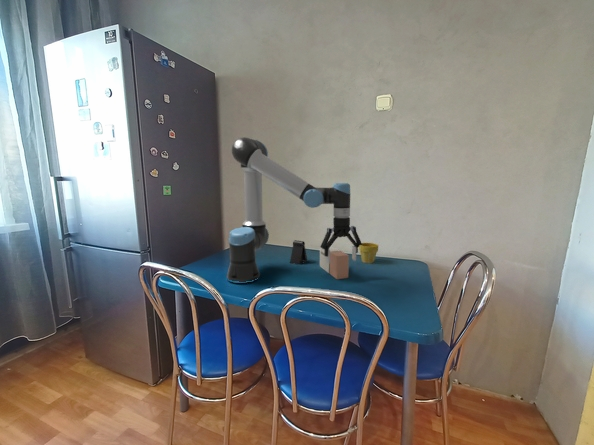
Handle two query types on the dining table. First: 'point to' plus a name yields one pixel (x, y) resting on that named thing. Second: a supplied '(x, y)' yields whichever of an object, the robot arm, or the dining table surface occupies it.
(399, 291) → the dining table surface
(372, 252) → the plant pot
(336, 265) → the salmon pink rectangular block
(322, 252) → the white box
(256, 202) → the robot arm
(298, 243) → the black a-frame stand
